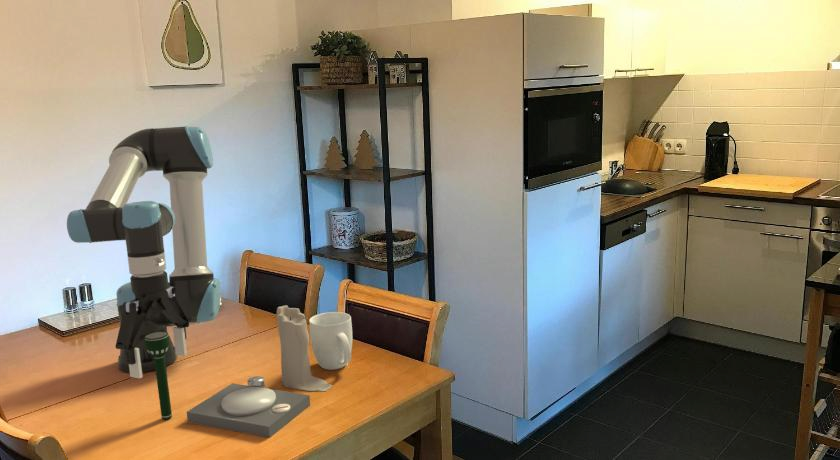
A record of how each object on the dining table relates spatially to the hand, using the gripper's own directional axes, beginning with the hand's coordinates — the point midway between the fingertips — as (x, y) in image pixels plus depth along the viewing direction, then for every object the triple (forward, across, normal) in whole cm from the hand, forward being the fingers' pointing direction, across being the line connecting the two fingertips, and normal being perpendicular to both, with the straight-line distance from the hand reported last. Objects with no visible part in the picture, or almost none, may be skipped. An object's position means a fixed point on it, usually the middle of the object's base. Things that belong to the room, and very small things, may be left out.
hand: (159, 365), depth 153 cm
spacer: (+13, +20, -10) cm, 26 cm away
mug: (+13, +38, -22) cm, 46 cm away
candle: (+13, +26, -21) cm, 36 cm away
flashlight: (+13, 0, 0) cm, 13 cm away
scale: (+13, +8, -17) cm, 23 cm away
